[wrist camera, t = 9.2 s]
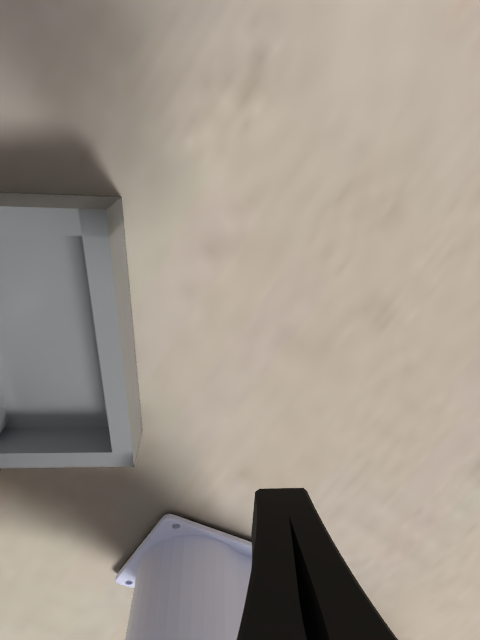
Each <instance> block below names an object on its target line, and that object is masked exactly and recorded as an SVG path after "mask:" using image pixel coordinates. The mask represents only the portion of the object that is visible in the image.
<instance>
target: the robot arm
mask: <svg viewBox="0 0 480 640" xmlns="http://www.w3.org/2000/svg"><path fill="white" fill-rule="evenodd" d="M116 582H117V583H118V584H121V585H125V586H128V587H132V588H134V591H133V597H132V603H131V609H130V615H129V621H128V626H127V632H126V638H125V640H398V639H397V638H396V637H395V635H394V634H393V633H392V631H391V630H390V628H389V627H388V626H387V624H386V623H385V622H384V620H383V619H382V617H381V616H380V614H379V613H378V612H377V610H376V609H375V607H374V606H373V604H372V603H371V601H370V600H369V598H368V597H367V595H366V594H365V592H364V591H363V589H362V588H361V586H360V585H359V583H358V582H357V580H356V579H355V577H354V575H353V574H352V572H351V571H350V569H349V567H348V566H347V564H346V562H345V561H344V559H343V557H342V556H341V554H340V553H339V551H338V549H337V547H336V546H335V544H334V542H333V541H332V539H331V537H330V535H329V533H328V532H327V530H326V528H325V526H324V524H323V523H322V521H321V519H320V517H319V515H318V513H317V511H316V509H315V507H314V505H313V503H312V501H311V499H310V497H309V495H308V492H307V491H306V490H305V489H304V488H280V489H259V490H257V491H256V492H255V501H254V512H253V523H252V542H250V541H247V540H244V539H241V538H238V537H236V536H233V535H230V534H227V533H224V532H221V531H219V530H216V529H213V528H210V527H207V526H204V525H201V524H199V523H196V522H193V521H190V520H187V519H184V518H182V517H179V516H176V515H173V514H166V515H164V516H163V517H162V518H161V519H160V521H159V522H158V523H157V524H156V526H155V527H154V528H153V529H152V531H151V532H150V533H149V535H148V536H147V537H146V538H145V540H144V541H143V542H142V543H141V545H140V546H139V547H138V548H137V550H136V551H135V552H134V553H133V555H132V556H131V557H130V558H129V560H128V561H127V562H126V563H125V565H124V566H123V567H122V568H121V570H120V571H119V572H118V573H117V575H116Z"/></svg>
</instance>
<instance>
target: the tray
mask: <svg viewBox="0 0 480 640" xmlns="http://www.w3.org/2000/svg"><path fill="white" fill-rule="evenodd" d="M141 435H142V421H141V410H140V399H139V387H138V376H137V365H136V354H135V343H134V332H133V320H132V309H131V298H130V287H129V276H128V265H127V253H126V242H125V231H124V220H123V209H122V197H107V196H79V195H51V194H23V193H0V468H61V467H134V465H135V461H136V456H137V452H138V448H139V443H140V439H141Z"/></svg>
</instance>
